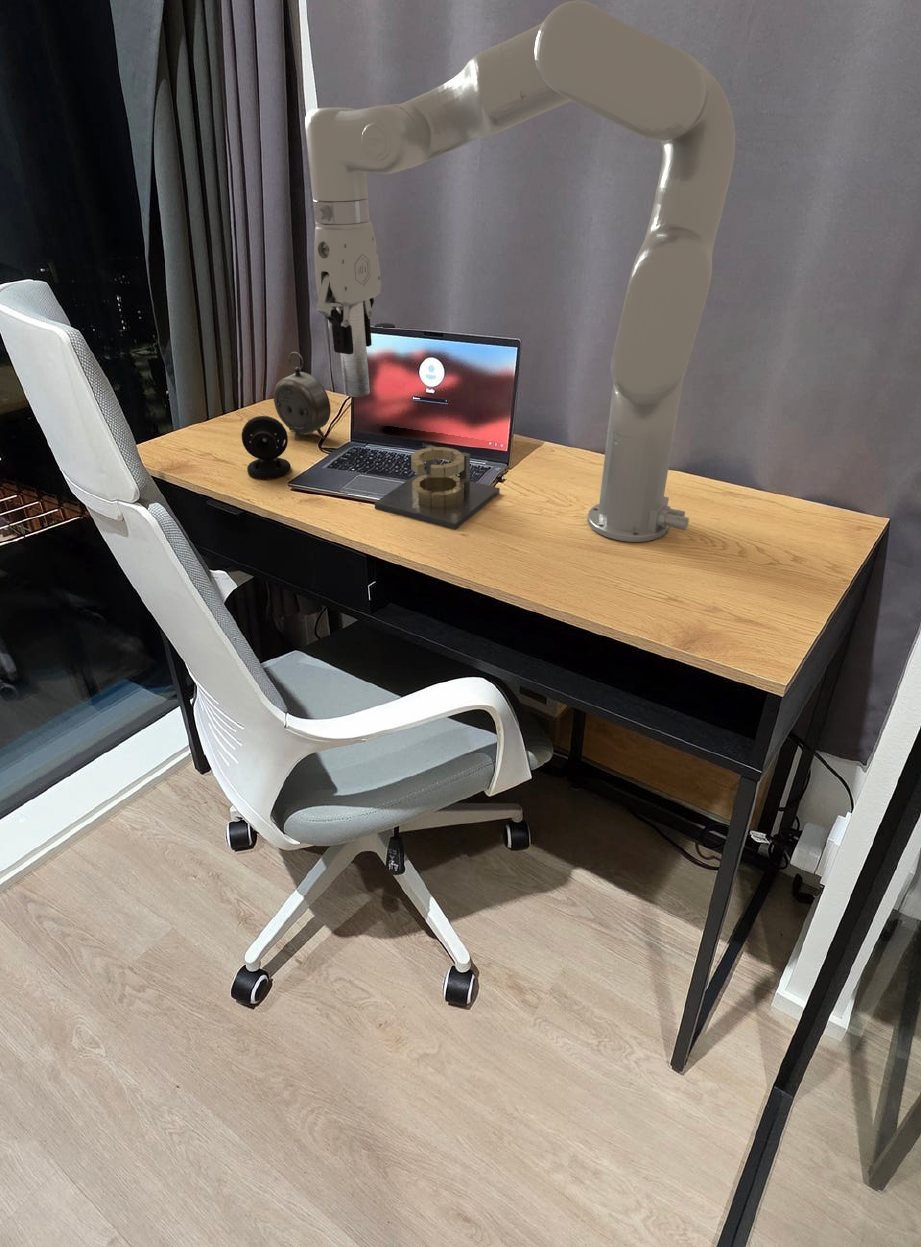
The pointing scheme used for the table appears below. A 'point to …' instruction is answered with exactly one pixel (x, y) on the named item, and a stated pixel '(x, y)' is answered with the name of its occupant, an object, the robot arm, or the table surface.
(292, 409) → the alarm clock
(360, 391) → the steel tube
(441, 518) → the collar stand
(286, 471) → the webcam
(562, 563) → the table surface
